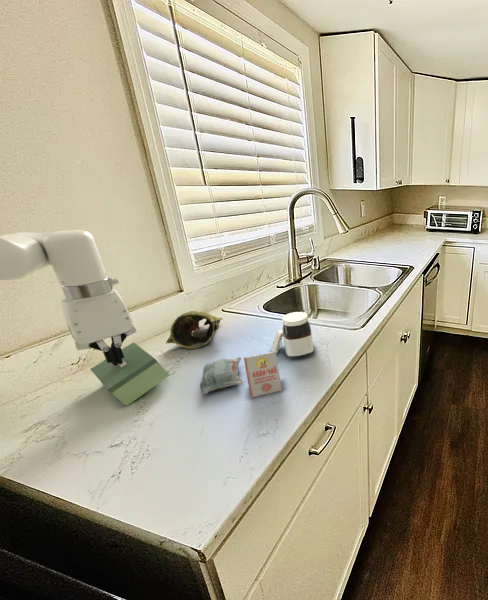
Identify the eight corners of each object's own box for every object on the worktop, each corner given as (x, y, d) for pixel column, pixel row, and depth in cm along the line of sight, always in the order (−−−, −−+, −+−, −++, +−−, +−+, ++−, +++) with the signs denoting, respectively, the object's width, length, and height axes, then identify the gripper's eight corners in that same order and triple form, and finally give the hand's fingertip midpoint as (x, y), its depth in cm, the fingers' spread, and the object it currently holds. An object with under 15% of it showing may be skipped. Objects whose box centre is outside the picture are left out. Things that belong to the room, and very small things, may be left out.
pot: (227, 298, 113) (210, 300, 95) (242, 327, 114) (228, 334, 97) (176, 320, 109) (149, 326, 92) (193, 350, 111) (169, 361, 93)
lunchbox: (106, 388, 70) (153, 357, 76) (88, 367, 78) (132, 340, 84) (126, 406, 74) (169, 375, 80) (107, 385, 82) (148, 358, 88)
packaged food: (242, 366, 89) (238, 350, 87) (243, 390, 79) (239, 373, 77) (206, 374, 85) (201, 358, 84) (202, 401, 75) (197, 383, 74)
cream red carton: (251, 390, 79) (244, 354, 75) (280, 383, 81) (274, 348, 78) (251, 399, 76) (243, 361, 72) (282, 391, 78) (275, 355, 75)
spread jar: (316, 357, 93) (312, 320, 88) (275, 367, 88) (268, 329, 84) (308, 340, 103) (304, 305, 99) (270, 348, 98) (264, 312, 94)
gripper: (125, 277, 77) (148, 345, 84) (35, 296, 66) (70, 372, 73) (136, 283, 73) (159, 354, 80) (42, 303, 62) (78, 384, 69)
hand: (116, 362), depth 76 cm, fingers closed
